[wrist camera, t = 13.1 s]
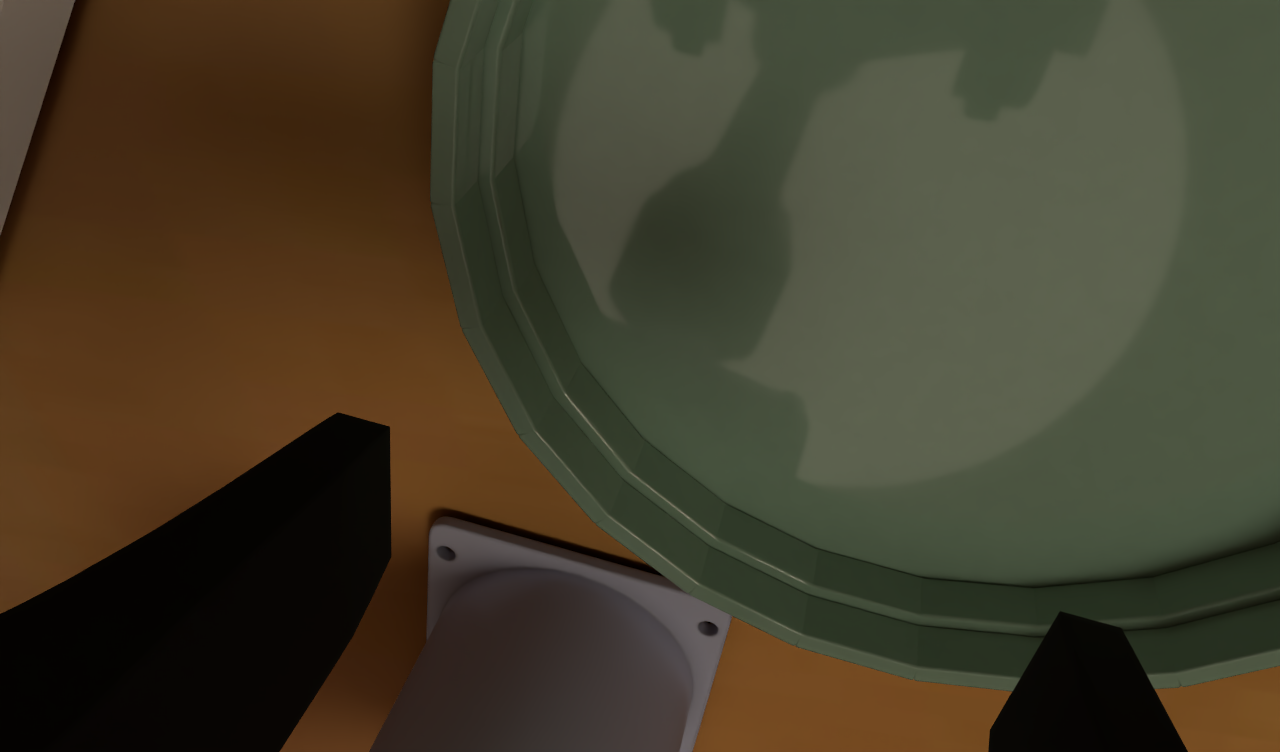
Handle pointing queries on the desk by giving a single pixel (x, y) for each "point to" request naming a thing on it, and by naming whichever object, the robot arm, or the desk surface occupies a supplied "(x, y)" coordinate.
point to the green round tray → (891, 309)
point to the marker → (25, 78)
